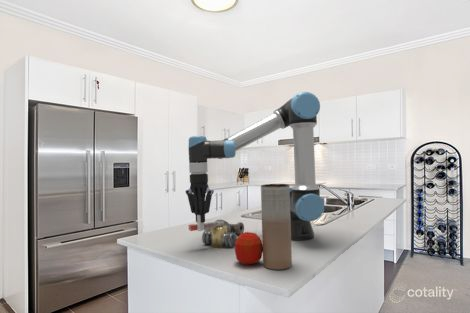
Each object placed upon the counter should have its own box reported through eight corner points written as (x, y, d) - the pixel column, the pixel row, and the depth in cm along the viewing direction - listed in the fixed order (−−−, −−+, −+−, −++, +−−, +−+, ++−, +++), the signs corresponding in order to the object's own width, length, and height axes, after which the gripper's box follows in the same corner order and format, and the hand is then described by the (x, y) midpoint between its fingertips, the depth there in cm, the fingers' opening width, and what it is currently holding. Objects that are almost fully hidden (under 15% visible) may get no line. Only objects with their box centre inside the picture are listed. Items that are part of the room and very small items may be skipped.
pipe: (221, 249, 149) (205, 240, 138) (216, 234, 155) (201, 224, 144) (248, 233, 146) (234, 223, 135) (242, 219, 152) (228, 207, 141)
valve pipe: (237, 245, 128) (236, 226, 128) (229, 249, 121) (229, 230, 121) (210, 241, 134) (209, 224, 134) (201, 245, 128) (201, 227, 128)
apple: (241, 270, 98) (241, 235, 98) (230, 261, 107) (229, 229, 107) (268, 265, 102) (267, 231, 102) (255, 256, 111) (254, 226, 112)
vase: (259, 268, 99) (257, 186, 99) (267, 259, 108) (264, 183, 109) (289, 271, 95) (286, 186, 96) (294, 261, 105) (291, 183, 105)
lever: (221, 224, 131) (221, 220, 131) (225, 226, 127) (225, 221, 127) (188, 229, 124) (188, 224, 124) (191, 231, 120) (191, 226, 120)
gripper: (216, 172, 122) (218, 229, 122) (191, 173, 128) (193, 227, 128) (206, 173, 116) (208, 233, 115) (180, 174, 122) (182, 231, 121)
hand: (200, 230), depth 121 cm, fingers closed
